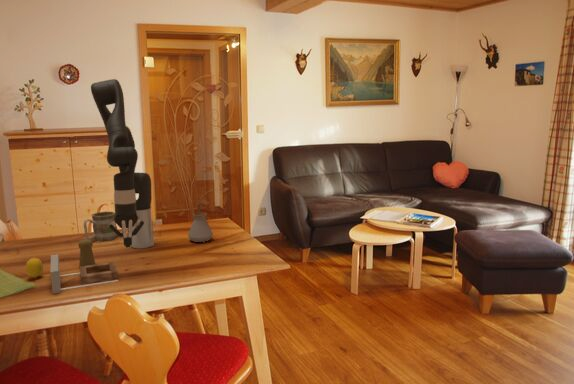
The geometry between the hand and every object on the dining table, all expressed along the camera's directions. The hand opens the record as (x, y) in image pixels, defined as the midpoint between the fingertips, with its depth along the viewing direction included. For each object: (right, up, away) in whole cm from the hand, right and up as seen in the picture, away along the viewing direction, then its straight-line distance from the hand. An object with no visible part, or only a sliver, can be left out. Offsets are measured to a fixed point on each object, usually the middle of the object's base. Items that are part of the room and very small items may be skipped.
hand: (127, 246), depth 177 cm
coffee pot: (+18, -2, +49) cm, 52 cm away
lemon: (-33, -11, -3) cm, 35 cm away
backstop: (-13, -11, -4) cm, 18 cm away
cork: (-19, -9, +9) cm, 23 cm away
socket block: (-10, -11, -3) cm, 15 cm away
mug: (-28, -2, +46) cm, 54 cm away
